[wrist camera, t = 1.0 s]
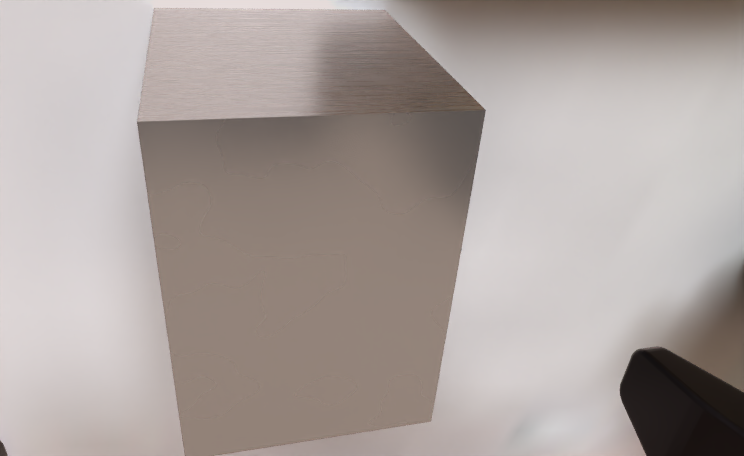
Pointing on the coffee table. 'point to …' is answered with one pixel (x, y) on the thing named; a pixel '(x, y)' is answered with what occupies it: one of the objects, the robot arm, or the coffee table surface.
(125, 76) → the coffee table surface
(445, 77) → the brushed metal block
